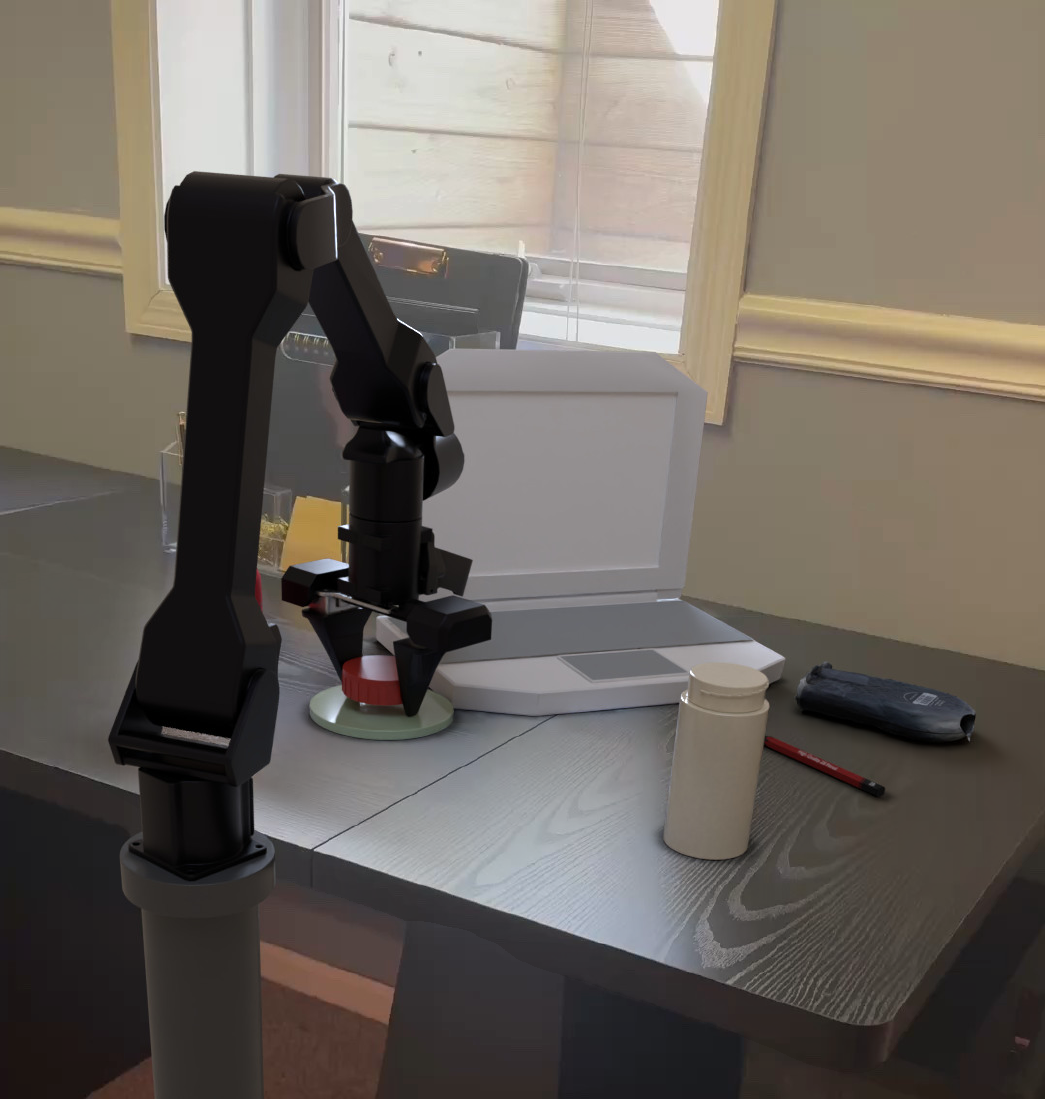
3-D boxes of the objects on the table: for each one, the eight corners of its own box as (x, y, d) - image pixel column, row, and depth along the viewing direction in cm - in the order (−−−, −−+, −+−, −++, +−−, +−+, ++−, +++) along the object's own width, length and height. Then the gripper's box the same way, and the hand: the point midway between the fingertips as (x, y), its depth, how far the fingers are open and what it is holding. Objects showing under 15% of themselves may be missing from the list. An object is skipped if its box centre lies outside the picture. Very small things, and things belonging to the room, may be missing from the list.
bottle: (718, 868, 96) (743, 695, 91) (646, 840, 100) (666, 672, 94) (763, 843, 101) (790, 676, 95) (693, 817, 104) (715, 654, 98)
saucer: (382, 751, 111) (382, 742, 111) (279, 711, 118) (279, 702, 117) (482, 717, 120) (483, 708, 119) (381, 681, 126) (381, 672, 126)
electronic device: (787, 733, 125) (960, 749, 118) (792, 670, 123) (967, 682, 116) (820, 718, 133) (984, 733, 126) (824, 659, 131) (990, 670, 124)
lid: (396, 674, 122) (397, 651, 121) (438, 698, 117) (439, 674, 116) (327, 685, 118) (327, 661, 117) (367, 710, 113) (368, 685, 112)
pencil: (756, 739, 120) (757, 728, 119) (883, 796, 110) (886, 784, 110) (748, 741, 119) (750, 729, 119) (876, 798, 110) (878, 787, 109)
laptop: (468, 724, 118) (484, 388, 105) (374, 639, 137) (378, 345, 124) (803, 693, 131) (853, 390, 118) (674, 619, 150) (706, 351, 137)
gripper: (542, 524, 111) (529, 712, 119) (373, 482, 121) (371, 658, 129) (447, 544, 104) (439, 744, 111) (275, 497, 114) (278, 684, 121)
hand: (381, 704), depth 118 cm, fingers closed on lid, 6 cm apart
